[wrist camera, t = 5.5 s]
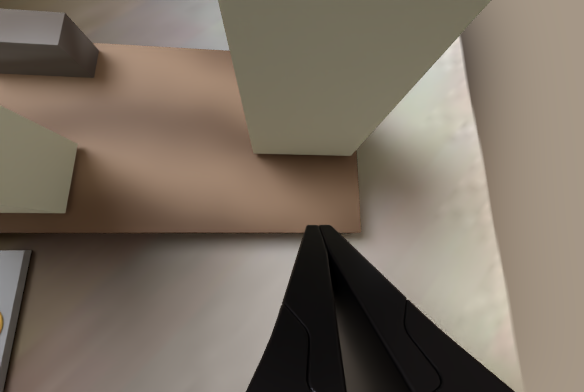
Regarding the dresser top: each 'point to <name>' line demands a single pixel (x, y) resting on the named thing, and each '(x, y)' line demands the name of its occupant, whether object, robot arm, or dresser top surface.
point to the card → (10, 301)
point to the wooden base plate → (158, 140)
